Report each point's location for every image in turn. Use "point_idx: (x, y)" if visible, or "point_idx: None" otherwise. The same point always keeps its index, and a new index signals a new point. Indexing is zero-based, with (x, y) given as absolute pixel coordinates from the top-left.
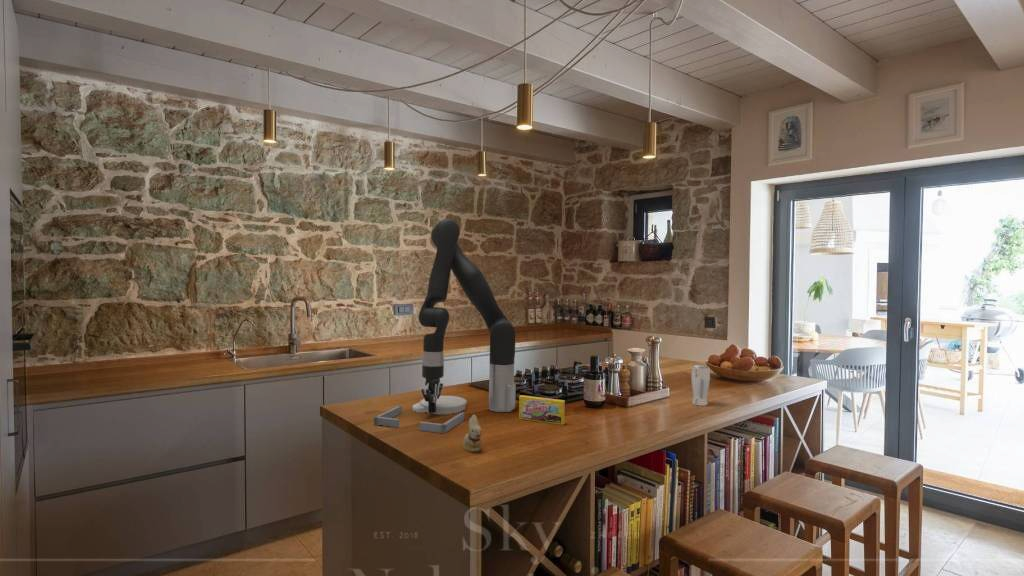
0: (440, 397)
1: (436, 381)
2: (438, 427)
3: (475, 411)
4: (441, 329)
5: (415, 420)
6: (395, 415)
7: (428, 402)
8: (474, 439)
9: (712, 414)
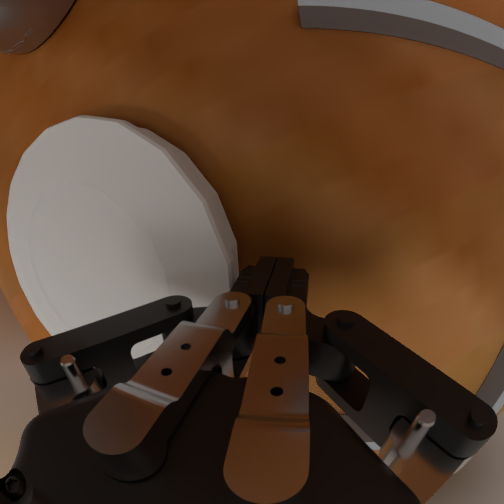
0: (54, 315)
1: (132, 494)
2: None
3: (92, 57)
4: None
5: (414, 315)
6: (349, 417)
7: None
8: None
9: None
